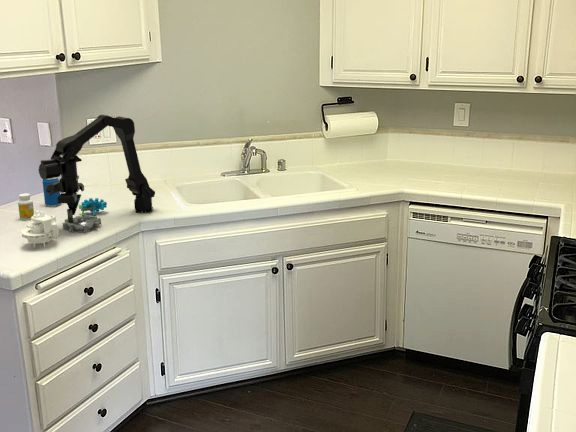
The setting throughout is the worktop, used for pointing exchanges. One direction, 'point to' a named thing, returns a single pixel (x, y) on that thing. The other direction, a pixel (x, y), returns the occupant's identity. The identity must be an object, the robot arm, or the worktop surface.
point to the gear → (92, 205)
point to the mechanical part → (41, 229)
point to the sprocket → (80, 223)
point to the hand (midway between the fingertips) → (73, 214)
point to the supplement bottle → (25, 207)
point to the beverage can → (50, 199)
